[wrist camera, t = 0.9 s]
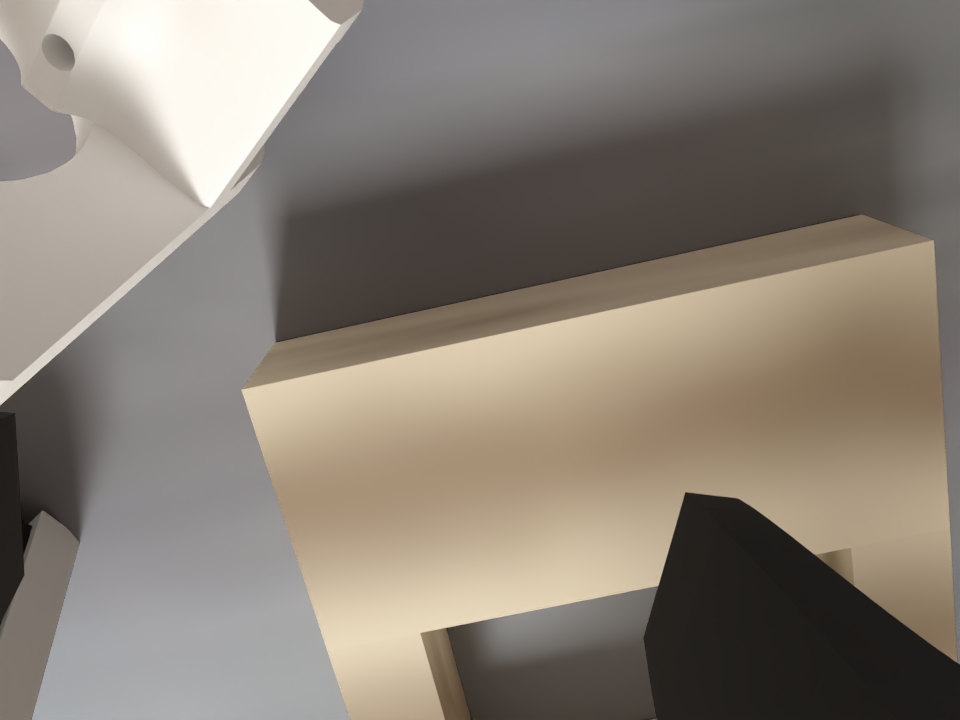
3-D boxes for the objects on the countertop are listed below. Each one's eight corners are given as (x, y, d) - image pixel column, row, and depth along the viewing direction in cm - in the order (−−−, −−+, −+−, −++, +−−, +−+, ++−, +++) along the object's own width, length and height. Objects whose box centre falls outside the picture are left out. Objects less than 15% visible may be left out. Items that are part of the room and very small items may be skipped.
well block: (913, 848, 24) (973, 952, 21) (457, 929, 25) (455, 1041, 22) (862, 214, 18) (934, 240, 16) (275, 342, 19) (241, 389, 16)
